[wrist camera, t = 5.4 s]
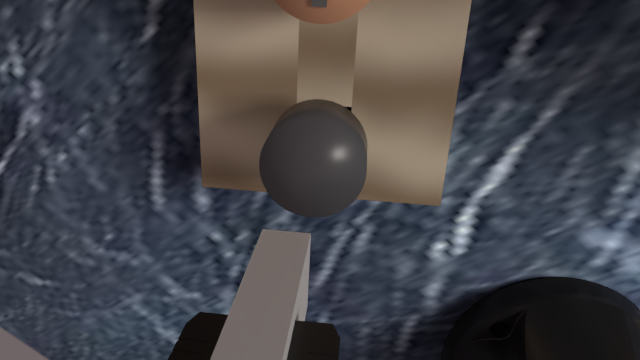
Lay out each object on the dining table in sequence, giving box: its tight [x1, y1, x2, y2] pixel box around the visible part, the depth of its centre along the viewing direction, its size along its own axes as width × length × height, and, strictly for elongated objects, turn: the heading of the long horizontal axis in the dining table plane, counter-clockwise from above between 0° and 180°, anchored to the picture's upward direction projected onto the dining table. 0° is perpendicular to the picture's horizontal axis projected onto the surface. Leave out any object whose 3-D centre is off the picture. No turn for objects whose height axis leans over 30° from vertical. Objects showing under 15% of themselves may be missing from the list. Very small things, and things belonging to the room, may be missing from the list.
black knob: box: [259, 99, 367, 217], centre depth 28 cm, size 5×5×7 cm
